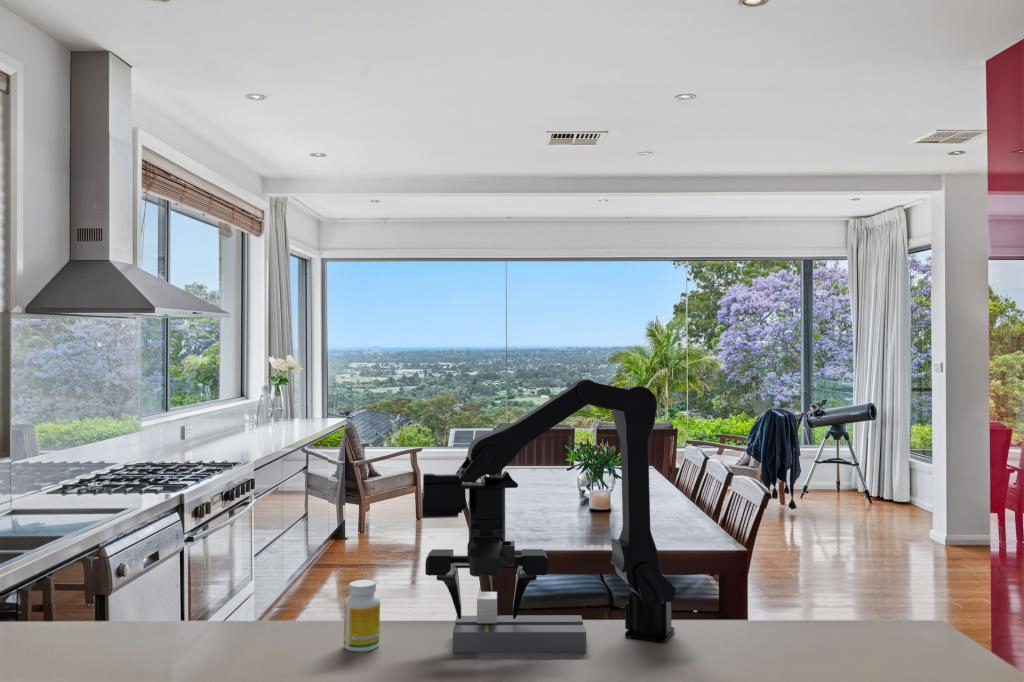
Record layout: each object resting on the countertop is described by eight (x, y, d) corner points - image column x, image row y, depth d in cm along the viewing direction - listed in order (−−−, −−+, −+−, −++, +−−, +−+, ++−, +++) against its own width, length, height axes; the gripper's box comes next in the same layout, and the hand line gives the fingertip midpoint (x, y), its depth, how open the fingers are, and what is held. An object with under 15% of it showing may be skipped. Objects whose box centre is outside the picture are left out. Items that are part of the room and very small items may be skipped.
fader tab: (497, 627, 118) (497, 591, 118) (496, 635, 114) (496, 599, 114) (478, 627, 117) (478, 591, 118) (476, 635, 114) (477, 599, 114)
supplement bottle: (336, 646, 114) (337, 583, 115) (365, 638, 118) (366, 576, 118) (357, 655, 110) (358, 589, 111) (386, 646, 114) (387, 582, 115)
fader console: (581, 634, 119) (581, 614, 120) (586, 652, 111) (586, 631, 112) (456, 634, 119) (456, 614, 120) (452, 652, 111) (452, 631, 112)
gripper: (421, 526, 108) (420, 636, 108) (549, 526, 108) (549, 635, 108) (429, 513, 120) (429, 612, 119) (545, 513, 120) (546, 612, 119)
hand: (487, 618), depth 116 cm, fingers open, 8 cm apart
